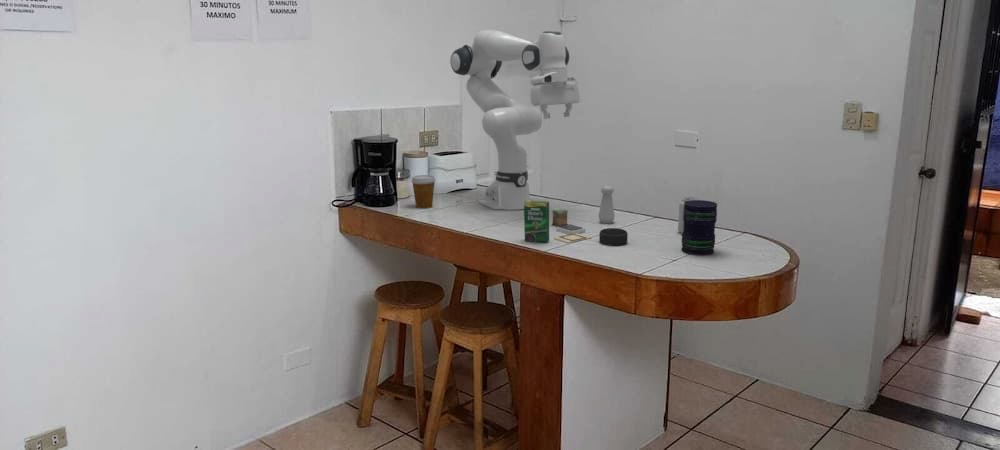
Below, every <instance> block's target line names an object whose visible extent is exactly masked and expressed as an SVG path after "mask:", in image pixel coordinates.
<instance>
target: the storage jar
mask: <svg viewBox="0 0 1000 450" xmlns="http://www.w3.org/2000/svg"><path fill="white" fill-rule="evenodd" d="M717 207H718V203H717V202H714V201H711V200H702V199H701V200H690V201H685V202H684V211H683V221H684V228H683V233H682V234H681V252H683V253H684V254H687V255H692V256H710V255H713V254H714V253H715V250H714V249H715V244H716V234H715V231H716V230H715V229H716V223H717V216H718V212H717V211H718V209H717Z"/></svg>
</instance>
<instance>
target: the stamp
mask: <svg viewBox="0 0 1000 450" xmlns="http://www.w3.org/2000/svg"><path fill="white" fill-rule="evenodd" d="M568 211H569V210H568V209H563V208H557V209H553V210H552V223H551V226H555V227H559V226H564V225H569V224H568V213H569V212H568Z"/></svg>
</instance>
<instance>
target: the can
mask: <svg viewBox="0 0 1000 450" xmlns="http://www.w3.org/2000/svg"><path fill="white" fill-rule="evenodd" d="M690 200H702V198H699V197H696V196H683V197H681V200H680V201H679V204H678V206H679V207H678V222H677V223H678V225H677V231H678V232H679V233H680V234H681V235H682V233H683V228H684V221H683V211H684V202H685V201H690Z"/></svg>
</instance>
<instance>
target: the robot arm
mask: <svg viewBox="0 0 1000 450" xmlns="http://www.w3.org/2000/svg"><path fill="white" fill-rule="evenodd" d="M569 52H570V51H569V50H568V47H566V43H565V38H564V35H563V34H562V33H561V32H560V31H553V30H548V31H547V30H546V31H542V32H541V33H540V34H539V37H538V38H537V39H536V40H534V41H529V40H527V39H523V38H520V37H517V36H515V35H513V34H509V33H506V32H504V31H500V30H495V29H482V30H480V31H478V32H477V34H475V37H474V38H473V44H471V45H469V44H465V45H463V46H462V47H459V48H458V49H455V50H454V51H453V53H452V54H451V56H450V67H451V70H452V71H453V72H454V73H455V74H457V75H459V76H469V78H468V79H467V81H466V85H465V86H466V91H467V93H468V94H469V95H470V98H471V99H472V100H473V102H474V103H475V104H476V105H477V106H478V107H479V108H480V109H481V111H482V112H484V115H483V116H482V120H481V121H482V123H481V125H482V128H483V130H484V133H485V134H486V135H488V136H489V137H490V139H492V141H493V143H494V145H495V147H496V150H497V162H498V167H497V168H498V169H497V171H494V175H495V180H494V181H493V182H492V183H491V184H489V185H488V186H487V187H486V188H485V191H484V198H482V199H479V200H478V201H479V202H478V203H479V204H481V205H483V206H485V207H487V208H490V209H492V210H506V211H507V210H508V211H509V210H510V211H511V210H517V211H518V210H524V202H525V201H531V197H530V195H531V194H530V185H529V183H528V180H529V178H528V176H529V173H528V172H529V171H528V170H527V168H528V166H527V165H528V163H527V161H528V160H527V155H528V154H527V150H526V149H525V148H524V147H522V146H521V145H519V143H518V141H517V137H516V136H523V135H524V136H525V135H530V134H533V133H535V132H538V131H539V130H540V128H541V126H542V123H543V119H544V120H545V119H551V113H550V112H548V106H553V105H554V106H555V105H565V106H564V107H565V108H566V109H565V111H564V112H563V117H564V118H569V117H570V116H571V111H572V107H573V104H579V103H580V100H581V99H580V97H581V96H580V89H579V86H578V81H577V80H576V78H574V77H572V76H571V77H568V70H567V69H568V68H567V66H568V64H569V62H570V53H569ZM519 60H521V62H522V65H523V67H524V68H525V70H527V71H532V72H541V73H540V74H538V75H536V76H534V77H532V78H531V79H530V84H531V87H530V104H531V105H532V106H530V105H529V106H528V105H527V104H525V103H523V102H520V101H519V100H517V99H515V98H513V97H511V96H510V95H508V94H507V93H505V92H504V91H503V90H502V89H501V88H500V87H499V86H498V84H496V83H495V82H494V80H492V79H494V78H495V77H496V76H497V75H498V73H499V71H500V69H501V67H502V65H503V62H508V61H509V62H511V61H519ZM538 106H539V108H540V110H539V109H538V108H536V107H538ZM540 111H541V112H542V114H543V117H542V114H541V112H540Z"/></svg>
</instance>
